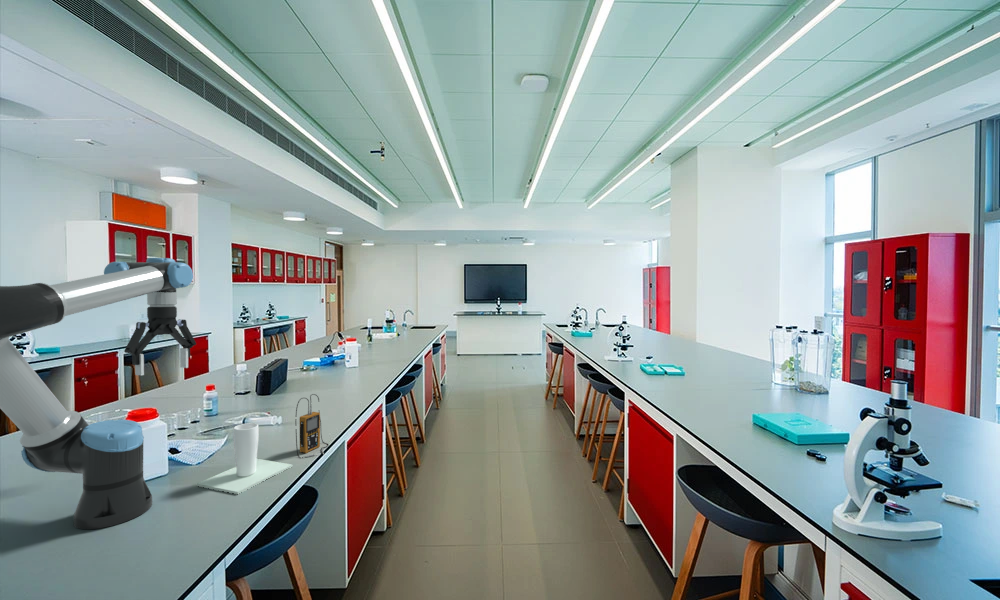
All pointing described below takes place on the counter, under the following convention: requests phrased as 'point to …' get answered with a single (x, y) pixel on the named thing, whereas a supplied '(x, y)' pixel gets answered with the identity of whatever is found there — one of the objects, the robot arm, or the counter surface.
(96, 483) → the robot arm
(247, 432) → the white cup
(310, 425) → the multimeter
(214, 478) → the mat
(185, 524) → the counter surface
